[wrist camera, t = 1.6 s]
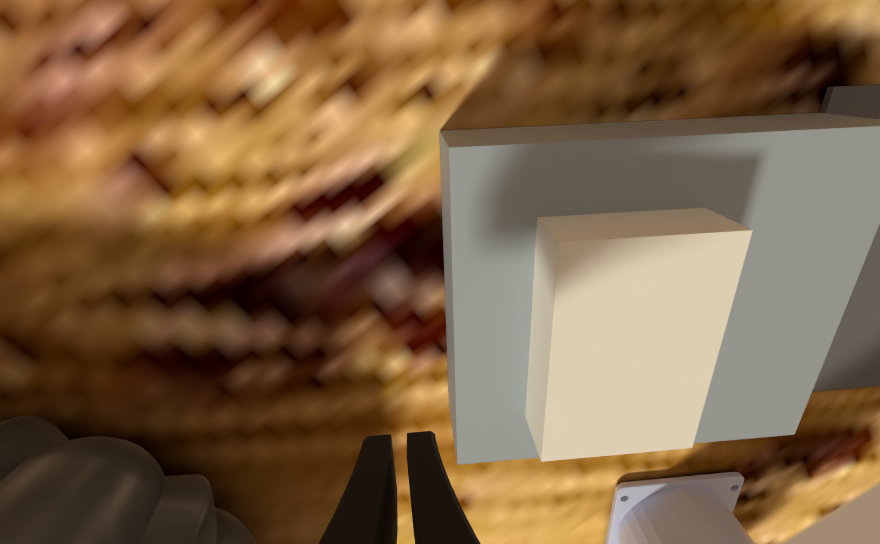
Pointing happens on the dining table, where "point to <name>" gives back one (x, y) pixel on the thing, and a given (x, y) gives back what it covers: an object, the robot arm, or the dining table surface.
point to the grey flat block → (645, 189)
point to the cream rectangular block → (627, 328)
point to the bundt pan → (100, 493)
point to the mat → (876, 290)
